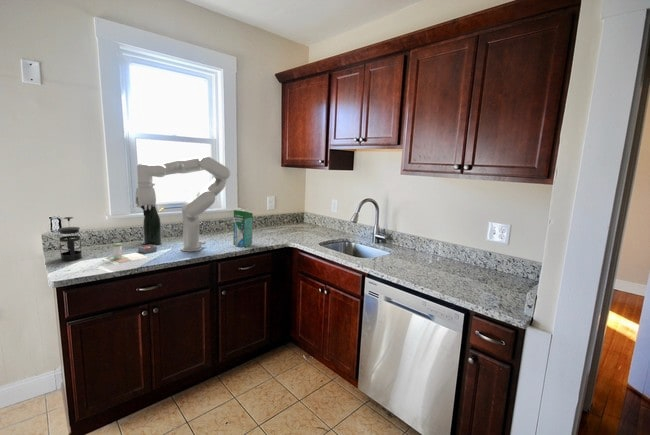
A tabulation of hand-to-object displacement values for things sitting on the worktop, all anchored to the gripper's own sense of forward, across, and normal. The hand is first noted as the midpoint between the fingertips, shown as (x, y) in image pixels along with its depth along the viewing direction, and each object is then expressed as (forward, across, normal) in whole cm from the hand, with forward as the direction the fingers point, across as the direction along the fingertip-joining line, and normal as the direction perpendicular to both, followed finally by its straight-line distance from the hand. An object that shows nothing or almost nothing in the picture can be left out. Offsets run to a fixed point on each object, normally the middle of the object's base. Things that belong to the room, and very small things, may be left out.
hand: (146, 216), depth 188 cm
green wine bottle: (+23, -14, -19) cm, 33 cm away
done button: (+22, 0, 0) cm, 22 cm away
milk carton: (+23, -51, +27) cm, 62 cm away
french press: (+22, +32, -17) cm, 43 cm away
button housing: (+22, 0, 0) cm, 22 cm away
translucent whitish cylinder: (+21, +18, +2) cm, 28 cm away
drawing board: (+22, +16, +5) cm, 27 cm away
